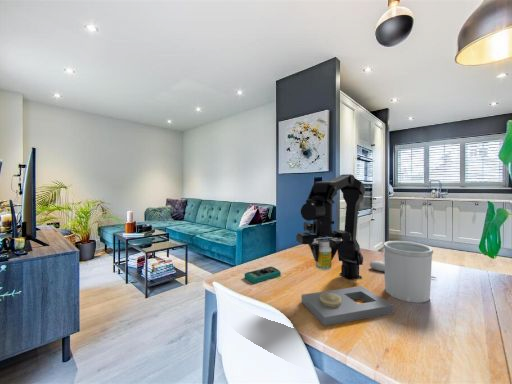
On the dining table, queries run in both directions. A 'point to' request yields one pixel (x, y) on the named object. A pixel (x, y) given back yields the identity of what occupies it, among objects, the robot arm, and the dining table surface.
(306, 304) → the plate
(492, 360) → the dining table surface
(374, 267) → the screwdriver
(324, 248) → the supplement bottle
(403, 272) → the utensil holder
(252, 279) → the digital multimeter
